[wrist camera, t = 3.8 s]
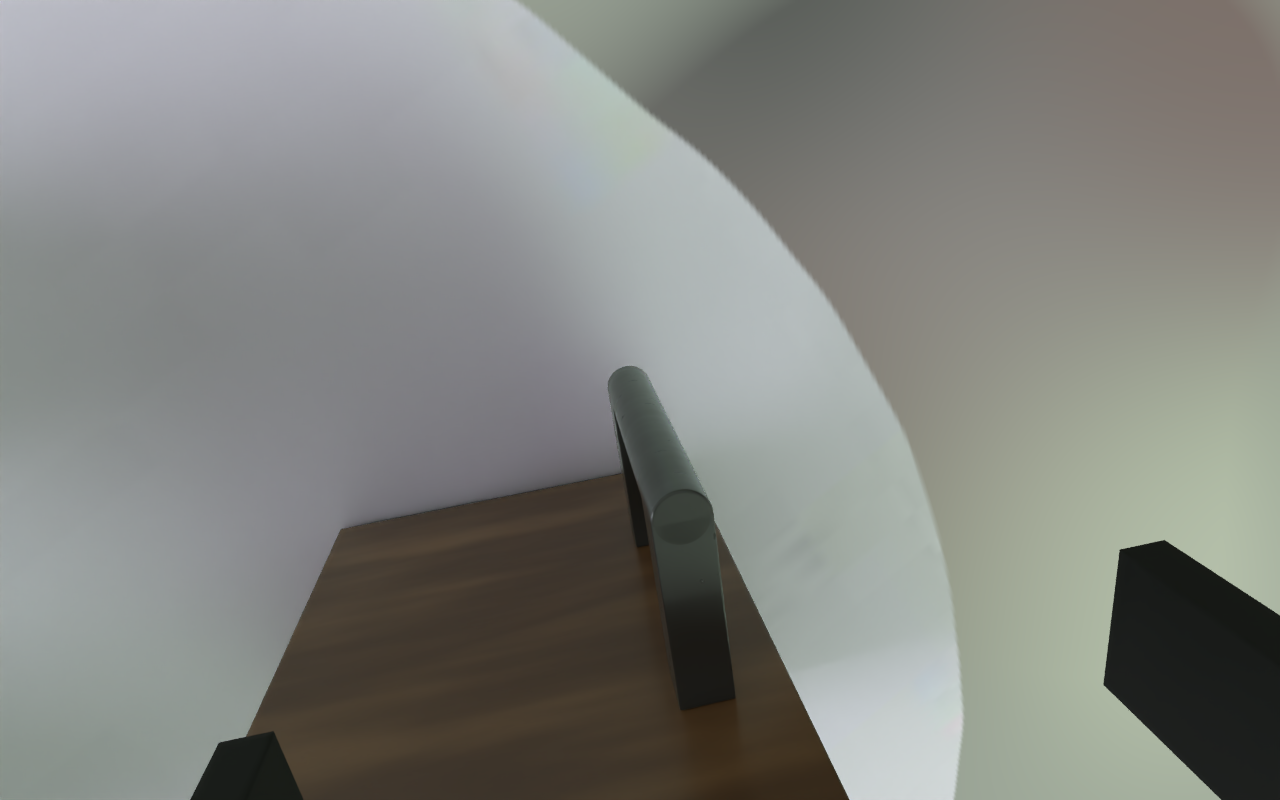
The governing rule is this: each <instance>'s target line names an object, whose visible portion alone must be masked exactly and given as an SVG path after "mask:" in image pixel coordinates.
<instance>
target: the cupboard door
mask: <svg viewBox="0 0 1280 800" xmlns="http://www.w3.org/2000/svg"><path fill="white" fill-rule="evenodd" d="M607 388H608V395H609V401H610V407H611V413H612V418H613V424H614V430H615V436H616V442H617V448H618V453H619V459H620V465H621V471H622V474H617V475H612V476H607V477H602V478H597V479H592V480H587V481H582V482H577V483H572V484H567V485H562V486H557V487H552V488H547V489H541V490H536V491H531V492H526V493H521V494H516V495H511V496H506V497H501V498H496V499H491V500H486V501H481V502H476V503H471V504H466V505H461V506H456V507H451V508H446V509H441V510H435V511H430V512H425V513H420V514H415V515H410V516H405V517H400V518H395V519H390V520H385V521H380V522H375V523H370V524H365V525H360V526H355V527H350V528H345V529H341V530H340V532H339V534H338V536H337V539H336V541H335V543H334V545H333V547H332V550H331V552H330V554H329V556H328V558H327V561H326V563H325V565H324V567H323V569H322V571H321V574H320V576H319V578H318V580H317V582H316V585H315V587H314V589H313V591H312V593H311V596H310V598H309V600H308V602H307V604H306V606H305V609H304V611H303V613H302V615H301V617H300V620H299V622H298V624H297V626H296V628H295V631H294V633H293V635H292V637H291V639H290V641H289V644H288V646H287V648H286V650H285V652H284V655H283V657H282V659H281V661H280V663H279V666H278V668H277V670H276V672H275V674H274V677H273V679H272V681H271V683H270V685H269V687H268V690H267V692H266V694H265V696H264V698H263V701H262V703H261V705H260V707H259V709H258V712H257V714H256V716H255V718H254V720H253V722H252V725H251V727H250V729H249V731H248V733H247V736H246V737H248V736H253V735H257V734H262V733H267V732H271V731H274V733H275V735H276V737H277V740H278V742H279V744H280V747H281V749H282V751H283V753H284V756H285V758H286V760H287V763H288V765H289V767H290V770H291V772H292V774H293V776H294V779H295V781H296V783H297V786H298V788H299V790H300V792H301V795H302V797H303V799H304V800H849V798H848V796H847V794H846V792H845V790H844V788H843V785H842V783H841V781H840V779H839V777H838V775H837V773H836V771H835V769H834V767H833V765H832V763H831V761H830V759H829V757H828V754H827V752H826V750H825V748H824V746H823V744H822V742H821V740H820V738H819V736H818V734H817V732H816V730H815V728H814V725H813V723H812V721H811V719H810V717H809V715H808V713H807V711H806V709H805V707H804V705H803V703H802V701H801V699H800V697H799V694H798V692H797V690H796V688H795V686H794V684H793V682H792V680H791V678H790V676H789V674H788V672H787V670H786V668H785V665H784V663H783V661H782V659H781V657H780V655H779V653H778V651H777V649H776V647H775V645H774V643H773V641H772V639H771V637H770V634H769V632H768V630H767V628H766V626H765V624H764V622H763V620H762V618H761V616H760V614H759V612H758V610H757V608H756V605H755V603H754V601H753V599H752V597H751V595H750V593H749V591H748V589H747V587H746V585H745V583H744V581H743V579H742V577H741V574H740V572H739V570H738V568H737V566H736V564H735V562H734V560H733V558H732V556H731V554H730V552H729V550H728V548H727V546H726V543H725V541H724V539H723V537H722V535H721V533H720V531H719V529H718V527H717V525H716V523H715V521H714V514H713V508H712V505H711V503H710V501H709V499H708V497H707V495H706V493H705V491H704V489H703V487H702V485H701V483H700V481H699V479H698V477H697V475H696V473H695V471H694V469H693V467H692V465H691V463H690V461H689V459H688V457H687V455H686V453H685V451H684V449H683V447H682V445H681V443H680V441H679V439H678V436H677V434H676V432H675V430H674V428H673V426H672V424H671V422H670V420H669V418H668V416H667V414H666V412H665V410H664V408H663V406H662V404H661V402H660V400H659V398H658V396H657V394H656V392H655V390H654V388H653V386H652V384H651V382H650V380H649V378H648V376H647V374H646V373H645V372H644V371H643V370H641V369H640V368H638V367H634V366H625V367H622V368H619V369H618V370H616V371H615V372H614V373H613V374H612V375H611V377H610V379H609V381H608V387H607Z"/></svg>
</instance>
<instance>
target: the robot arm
mask: <svg viewBox="0 0 1280 800" xmlns="http://www.w3.org/2000/svg"><path fill="white" fill-rule="evenodd" d="M1104 686H1105V687H1106V688H1107V689H1108V690H1109V691H1110V692H1111V693H1113V694H1114V695H1115V696H1116V697H1117V698H1118V699H1119V700H1120V701H1121V702H1122V703H1123V704H1124V705H1125V706H1126V707H1127V708H1128V709H1129V710H1130V711H1131V712H1132V713H1133V714H1134V715H1135V716H1136V717H1137V718H1138V719H1139V720H1141V722H1142V723H1143V724H1144V725H1145V726H1146V727H1147V728H1149V729H1150V731H1152V732H1153V733H1154V734H1155V735H1156V736H1157V737H1158V738H1159V739H1160V740H1161V741H1162V742H1163V743H1164V744H1165V745H1166V746H1167V747H1168V748H1169V749H1170V750H1171V751H1172V752H1173V753H1174V754H1175V755H1176V756H1177V757H1178V758H1179V759H1180V760H1181V761H1182V762H1183V763H1184V764H1185V765H1186V766H1187V767H1189V769H1190V770H1191V771H1193V773H1195V774H1196V775H1197V776H1198V777H1199V778H1200V779H1201V780H1202V781H1203V782H1204V783H1205V784H1206V785H1207V786H1208V787H1209V788H1210V789H1211V790H1212V791H1213V792H1214V793H1215V794H1216V795H1217V796H1218V797H1219V798H1220V799H1221V800H1280V615H1278V614H1277V613H1275V612H1274V611H1272V610H1270V609H1269V608H1268V607H1266V606H1265V605H1263V604H1261V603H1260V602H1258V601H1257V600H1255V599H1254V598H1252V597H1251V596H1249V595H1248V594H1246V593H1244V592H1243V591H1241V590H1240V589H1238V588H1237V587H1235V586H1234V585H1232V584H1231V583H1229V582H1228V581H1226V580H1225V579H1223V578H1222V577H1220V576H1218V575H1217V574H1216V573H1214V572H1213V571H1211V570H1209V569H1208V568H1206V567H1205V566H1203V565H1202V564H1200V563H1199V562H1197V561H1195V560H1194V559H1193V558H1191V557H1189V556H1188V555H1186V554H1185V553H1183V552H1182V551H1180V550H1179V549H1177V548H1176V547H1174V546H1173V545H1171V544H1169V543H1168V542H1166V541H1165V540H1163V541H1158V542H1154V543H1149V544H1144V545H1140V546H1135V547H1130V548H1126V549H1121V550H1120V553H1119V561H1118V569H1117V577H1116V585H1115V594H1114V603H1113V611H1112V619H1111V627H1110V635H1109V643H1108V652H1107V661H1106V668H1105V677H1104ZM190 800H304V799H303V797H302V795H301V792H300V790H299V788H298V786H297V783H296V781H295V779H294V776H293V774H292V772H291V770H290V767H289V765H288V763H287V760H286V758H285V756H284V753H283V751H282V749H281V747H280V744H279V742H278V740H277V737H276V735H275V733H274V731H271V732H267V733H262V734H257V735H253V736H248V737H243V738H238V739H234V740H229V741H224V742H220V743H219V744H218V746H217V748H216V750H215V752H214V754H213V756H212V758H211V760H210V762H209V764H208V766H207V768H206V770H205V772H204V774H203V775H202V777H201V779H200V781H199V783H198V785H197V787H196V789H195V791H194V793H193V795H192V797H191V799H190Z"/></svg>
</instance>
